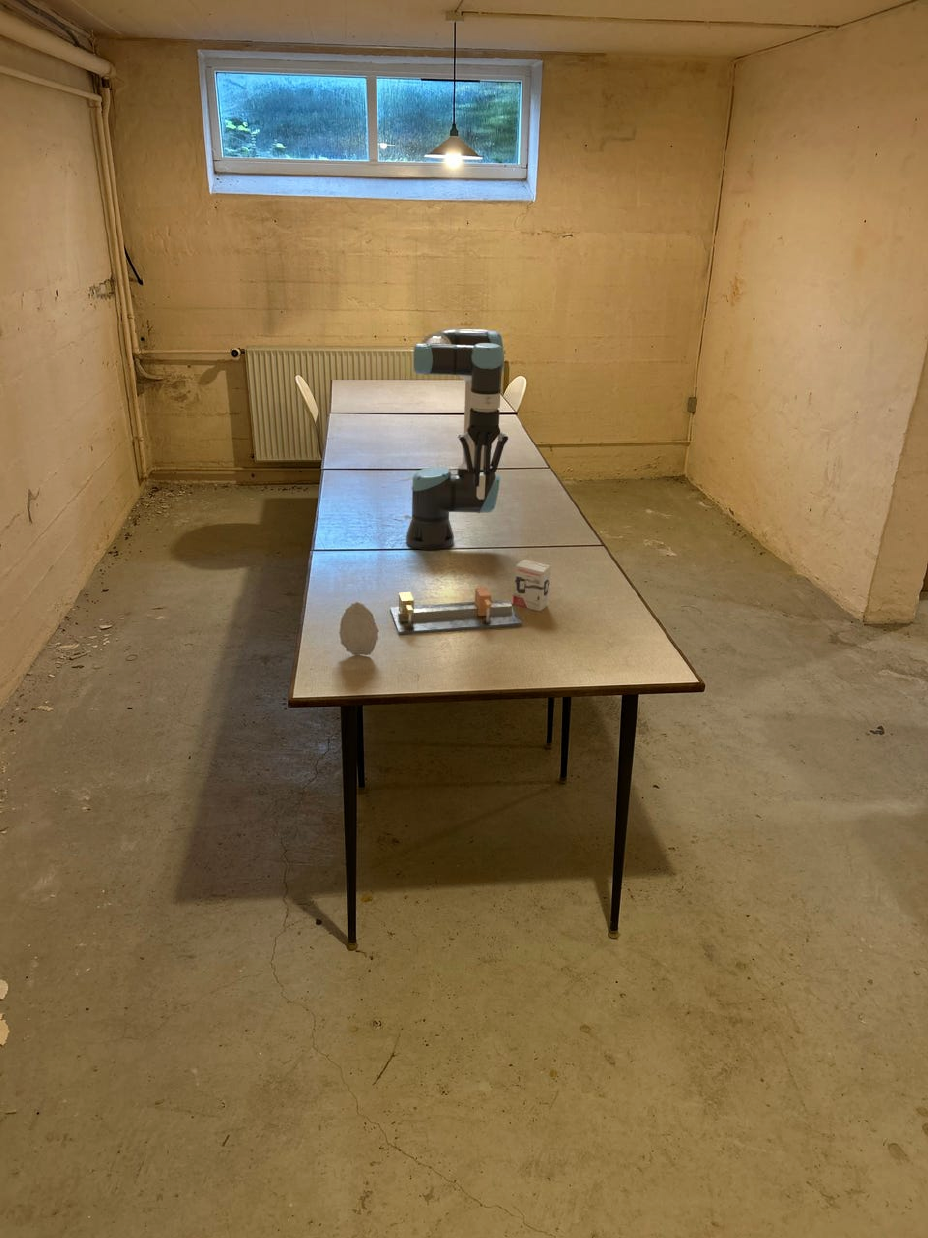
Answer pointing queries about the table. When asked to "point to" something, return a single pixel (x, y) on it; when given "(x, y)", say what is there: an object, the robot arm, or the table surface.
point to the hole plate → (455, 621)
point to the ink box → (531, 585)
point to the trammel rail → (441, 610)
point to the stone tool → (358, 630)
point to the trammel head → (483, 602)
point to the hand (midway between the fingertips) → (480, 497)
